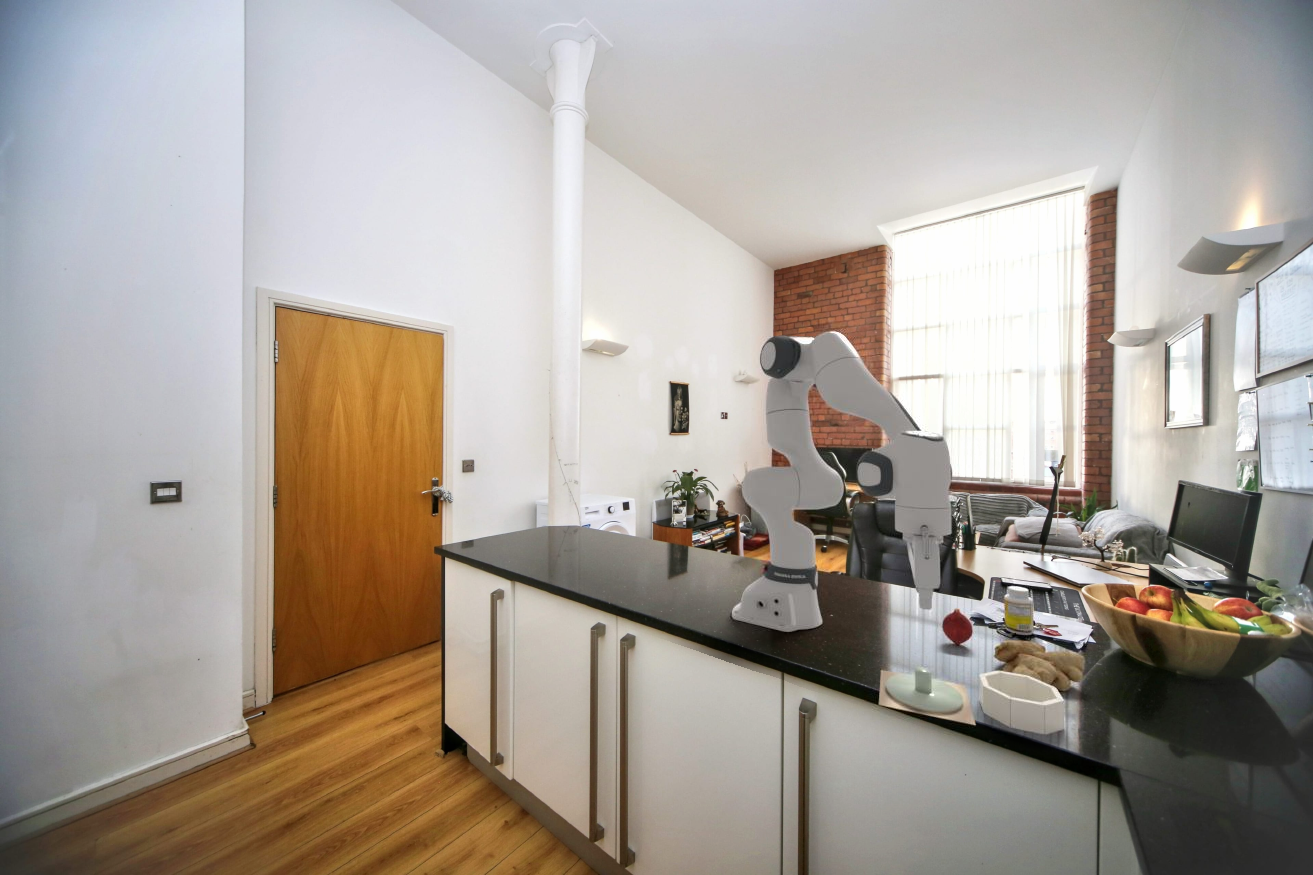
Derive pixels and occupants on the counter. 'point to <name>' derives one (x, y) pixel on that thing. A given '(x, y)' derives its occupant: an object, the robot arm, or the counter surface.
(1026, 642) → the ginger root
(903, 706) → the mat
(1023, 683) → the bowl
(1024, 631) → the supplement bottle
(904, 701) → the lid
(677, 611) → the counter surface
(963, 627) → the onion
